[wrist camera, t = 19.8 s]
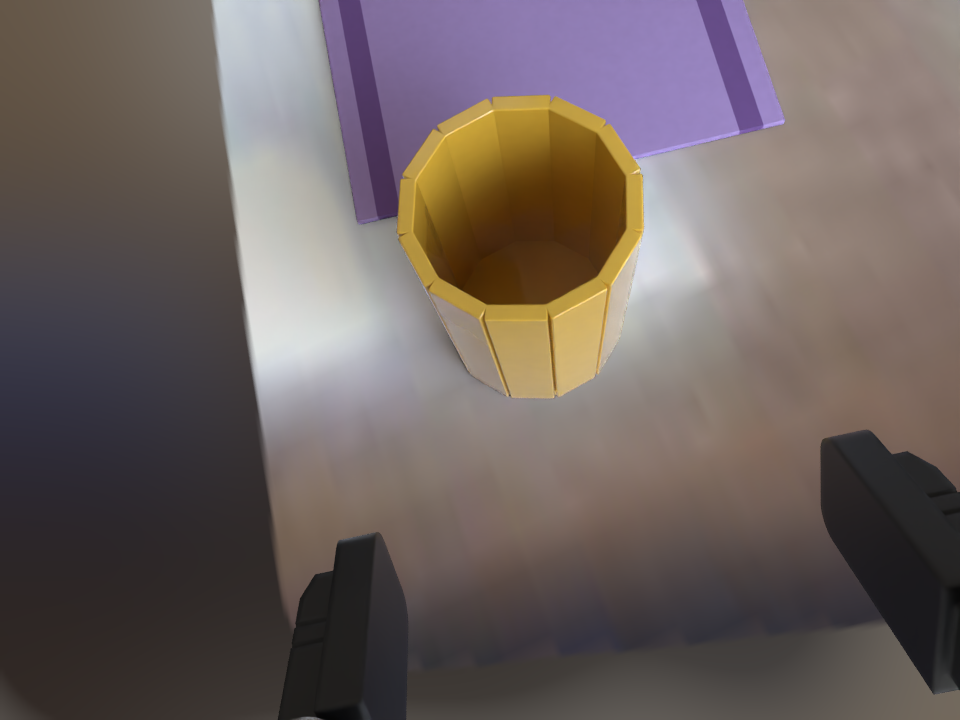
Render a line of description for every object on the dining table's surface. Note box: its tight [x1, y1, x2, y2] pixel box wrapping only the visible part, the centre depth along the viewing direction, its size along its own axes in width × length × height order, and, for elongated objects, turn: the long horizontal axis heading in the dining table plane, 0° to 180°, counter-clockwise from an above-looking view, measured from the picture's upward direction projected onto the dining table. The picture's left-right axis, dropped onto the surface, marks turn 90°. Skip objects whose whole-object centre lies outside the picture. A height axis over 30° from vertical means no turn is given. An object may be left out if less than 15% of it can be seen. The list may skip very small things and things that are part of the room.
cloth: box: [319, 0, 785, 224], centre depth 32 cm, size 17×12×1 cm
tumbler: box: [397, 95, 644, 398], centre depth 25 cm, size 6×6×10 cm
